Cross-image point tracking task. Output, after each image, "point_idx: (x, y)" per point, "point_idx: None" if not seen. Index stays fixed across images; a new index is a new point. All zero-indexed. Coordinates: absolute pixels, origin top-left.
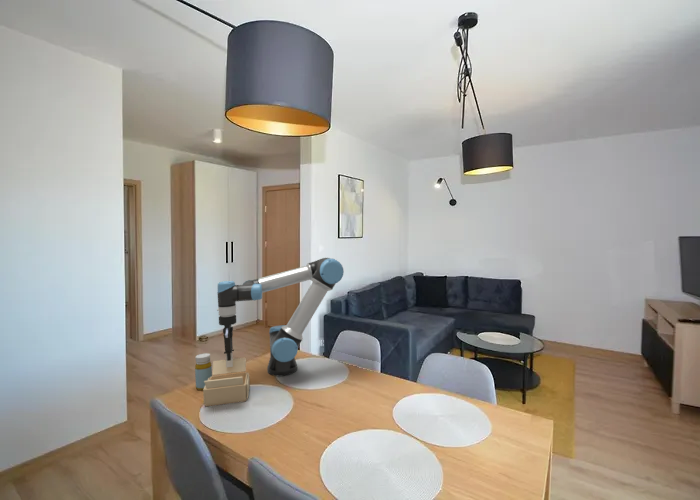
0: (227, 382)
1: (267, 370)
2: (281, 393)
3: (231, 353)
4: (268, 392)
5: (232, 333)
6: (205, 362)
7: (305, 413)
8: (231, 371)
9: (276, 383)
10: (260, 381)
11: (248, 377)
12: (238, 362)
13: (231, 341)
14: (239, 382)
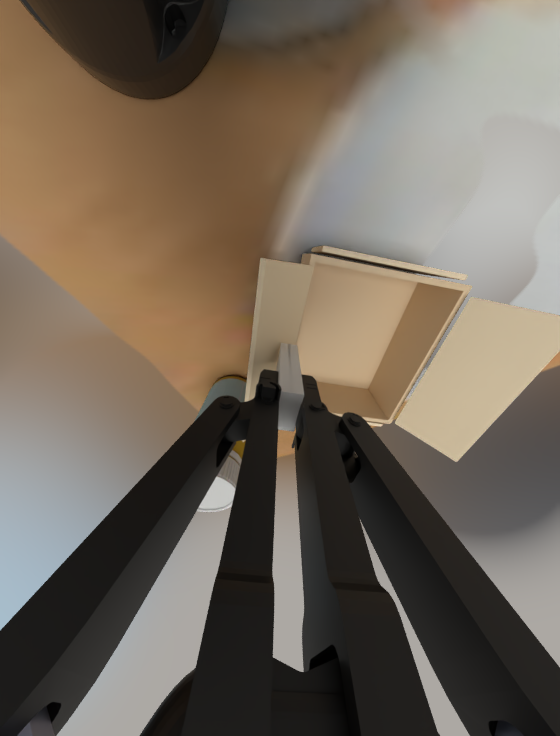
0: (474, 375)
1: (136, 90)
2: (476, 69)
3: (302, 394)
4: (410, 157)
5: (229, 691)
6: (239, 461)
7: None
8: (293, 342)
9: (331, 69)
10: (261, 179)
11: (384, 258)
12: (276, 314)
13: (275, 485)
14: (492, 321)
